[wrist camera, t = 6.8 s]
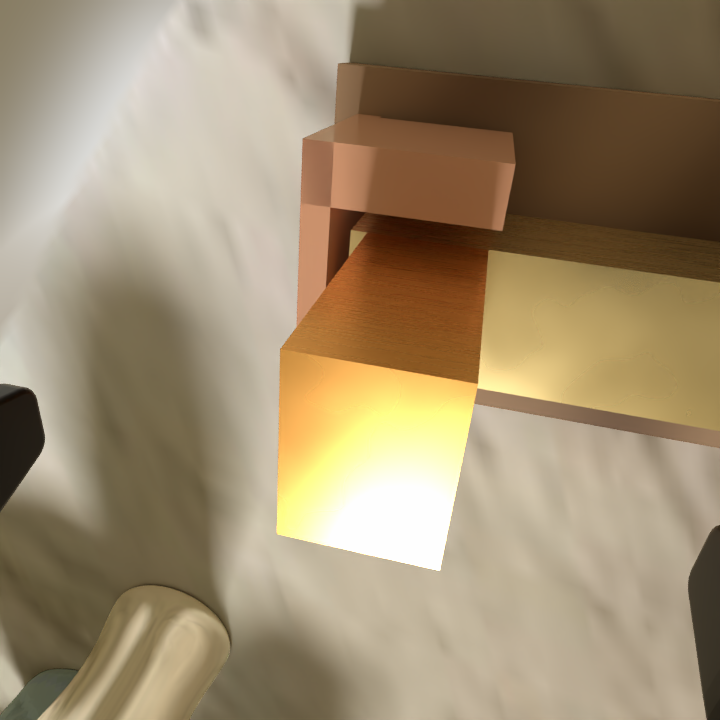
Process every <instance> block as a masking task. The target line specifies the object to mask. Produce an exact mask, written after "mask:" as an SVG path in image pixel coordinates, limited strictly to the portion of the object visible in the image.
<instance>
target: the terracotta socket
mask: <svg viewBox="0 0 720 720" xmlns="http://www.w3.org/2000/svg"><path fill="white" fill-rule="evenodd" d="M515 165H516V162H515V152H514V142H513V133H511V132H502V131H493V130H485V129H476V128H467V127H458V126H449V125H440V124H431V123H423V122H414V121H405V120H396V119H387V118H381V116H373V115H364V114H356V115H354V116H352V117H350V118H348V119H345V120H343V121H341V122H339V123H336V124H334V125H332V126H330V127H327V128H325V129H323V130H321V131H318V132H316V133H314V134H312V135H310V136H307V137H305V138H303V146H302V177H301V208H300V239H299V270H298V300H297V326H298V325H299V323H300V322H301V321H302V319H303V318H304V317H305V315H306V314H307V313H308V311H309V310H310V309H311V307H312V306H313V305H314V303H315V302H316V301H317V299H318V298H319V297H320V295H321V294H322V292H323V291H324V290H325V288H326V287H327V286H328V284H329V283H330V282H331V280H332V279H333V278H334V276H335V275H336V274H337V272H338V271H339V270H340V268H341V267H342V266H343V264H344V263H345V262H346V260H347V259H348V258H349V247H350V234H351V229H352V228H353V227H354V226H355V225H356V223H357V222H358V221H359V220H360V219H361V217H362V216H363V215H364V214H365V213H366V212H368V213H375V214H382V215H390V216H397V217H404V218H411V219H419V220H426V221H433V222H441V223H448V224H455V225H462V226H470V227H477V228H484V229H492V230H499V231H502V230H503V225H504V220H505V215H506V210H507V205H508V200H509V195H510V190H511V185H512V180H513V175H514V170H515Z"/></svg>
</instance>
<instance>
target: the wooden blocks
mask: <svg viewBox="0 0 720 720" xmlns="http://www.w3.org/2000/svg"><path fill="white" fill-rule="evenodd" d="M477 388H479V389H485V390H490V391H496V392H502V393H507V394H513V395H519V396H524V397H530V398H536V399H541V400H547V401H552V402H558V403H564V404H569V405H575V406H581V407H586V408H592V409H598V410H603V411H609V412H614V413H620V414H626V415H631V416H637V417H643V418H648V419H654V420H660V421H665V422H671V423H677V424H682V425H688V426H693V427H699V428H705V429H710V430H716V431H720V242H715V241H708V240H700V239H693V238H685V237H678V236H670V235H663V234H655V233H647V232H640V231H632V230H625V229H617V228H610V227H602V226H595V225H587V224H580V223H572V222H565V221H557V220H550V219H542V218H535V217H527V216H520V215H512V214H506V215H505V220H504V225H503V230H502V231H499V230H492V229H484V228H477V227H470V226H462V225H455V224H448V223H441V222H433V221H426V220H419V219H411V218H404V217H397V216H390V215H382V214H375V213H368V212H366V213H365V214H364V215H363V216H362V217H361V219H360V220H359V221H358V222H357V223H356V225H355V226H354V227H353V228H352V229H351V234H350V247H349V258H348V259H347V260H346V262H345V263H344V264H343V266H342V267H341V268H340V270H339V271H338V272H337V274H336V275H335V276H334V278H333V279H332V280H331V282H330V283H329V284H328V286H327V287H326V288H325V290H324V291H323V292H322V294H321V295H320V297H319V298H318V299H317V301H316V302H315V303H314V305H313V306H312V307H311V309H310V310H309V311H308V313H307V314H306V315H305V317H304V318H303V319H302V321H301V322H300V323H299V325H298V326H297V327H296V329H295V330H294V331H293V333H292V334H291V335H290V337H289V338H288V339H287V341H286V342H285V344H284V345H283V346H282V348H281V349H280V393H279V449H278V504H277V534H279V535H284V536H288V537H293V538H297V539H302V540H306V541H311V542H315V543H320V544H324V545H328V546H333V547H337V548H342V549H346V550H351V551H355V552H360V553H364V554H368V555H373V556H377V557H382V558H386V559H391V560H395V561H400V562H404V563H409V564H413V565H417V566H422V567H426V568H431V569H435V570H440V566H441V561H442V556H443V551H444V547H445V542H446V537H447V532H448V527H449V522H450V518H451V513H452V508H453V503H454V498H455V493H456V488H457V484H458V479H459V474H460V469H461V464H462V459H463V455H464V450H465V445H466V440H467V435H468V430H469V425H470V421H471V416H472V411H473V406H474V401H475V396H476V392H477Z"/></svg>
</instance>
